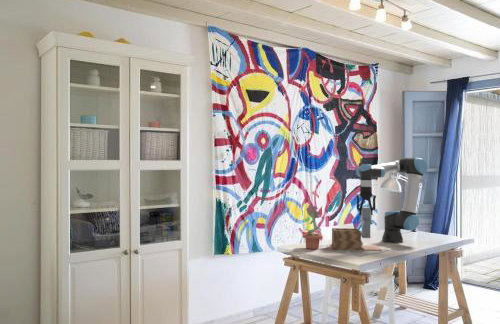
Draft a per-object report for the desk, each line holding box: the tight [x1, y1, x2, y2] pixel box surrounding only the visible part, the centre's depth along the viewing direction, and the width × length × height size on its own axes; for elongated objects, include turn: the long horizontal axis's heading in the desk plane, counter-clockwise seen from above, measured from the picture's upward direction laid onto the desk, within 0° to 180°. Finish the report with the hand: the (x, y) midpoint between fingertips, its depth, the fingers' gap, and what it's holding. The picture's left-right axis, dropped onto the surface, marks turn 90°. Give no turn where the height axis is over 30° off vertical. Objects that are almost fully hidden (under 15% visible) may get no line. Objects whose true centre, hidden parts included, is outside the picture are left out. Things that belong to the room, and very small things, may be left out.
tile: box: [361, 245, 383, 252], centre depth 301 cm, size 12×14×1 cm
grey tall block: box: [360, 207, 372, 239], centre depth 302 cm, size 5×13×20 cm, turn 176°
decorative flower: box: [302, 205, 324, 250], centre depth 301 cm, size 15×14×30 cm
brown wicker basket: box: [330, 227, 363, 251], centre depth 302 cm, size 20×13×13 cm, turn 86°
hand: (365, 219), depth 302 cm, fingers closed on grey tall block, 5 cm apart
